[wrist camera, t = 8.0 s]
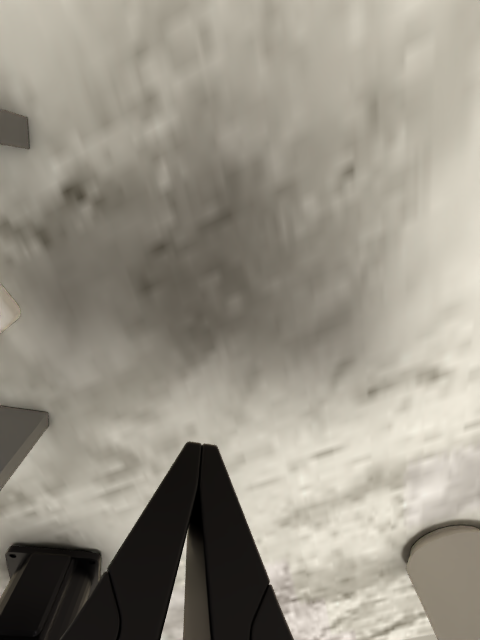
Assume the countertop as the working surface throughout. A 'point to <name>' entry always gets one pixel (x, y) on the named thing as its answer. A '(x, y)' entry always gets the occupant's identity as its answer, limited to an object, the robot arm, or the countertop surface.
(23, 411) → the box
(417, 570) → the can
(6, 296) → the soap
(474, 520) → the countertop surface
